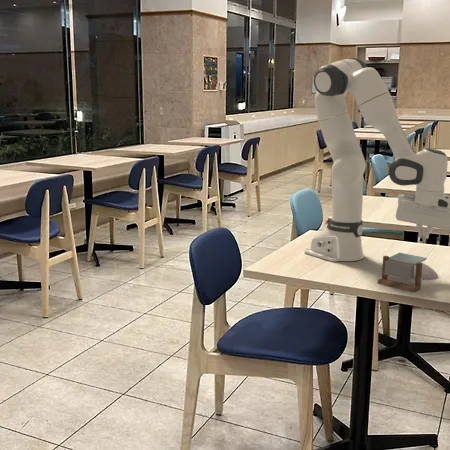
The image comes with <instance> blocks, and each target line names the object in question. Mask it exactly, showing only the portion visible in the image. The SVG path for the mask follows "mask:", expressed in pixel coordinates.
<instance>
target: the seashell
mask: <svg viewBox="0 0 450 450" xmlns="http://www.w3.org/2000/svg"><path fill="white" fill-rule="evenodd" d="M415 274H416V265H414V277H413V279H415ZM438 277H439V275H438V273H437V272H436V271H435V270H434V269H433V267H431V266H429V265H427V264H426V263H423V264H422V275H421V280H425V281H426V280H427V281H428V280H435V279H438Z"/></svg>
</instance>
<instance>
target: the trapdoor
mask: <svg viewBox="0 0 450 450" xmlns="http://www.w3.org/2000/svg"><path fill="white" fill-rule="evenodd" d="M426 260H427V257H423V256H418V255H414V254H408V253H403V252H397V253H396V254H393V255H391V256H389V258H388V260H387V261H385V273H384V275H388V276H390V277H394V278H398V279H403V280H407V281H411V280H412V279H414V265H416V263H418V262H419V263H423V262H424V261H426Z"/></svg>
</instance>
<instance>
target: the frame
mask: <svg viewBox="0 0 450 450" xmlns="http://www.w3.org/2000/svg"><path fill="white" fill-rule="evenodd" d="M389 257H390V256H388V255H384V256H383V257H382V270H381V278H379V279H377V284H379V285H383V286H386V285H387V287H390V288H395V287H396V288H395V289H400V290H404V291H408V292H412V293H416V292H417V291H419V290H421V285H422V279H421V275H422V264H424V263H423V262H421V263H419V262H418V263H416V274H415V278H414V284H410V283H405V282H401V281H396V280H392V279H388V276H389V275H384V273H385V261H387V260H388V258H389Z"/></svg>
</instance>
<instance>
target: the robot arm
mask: <svg viewBox="0 0 450 450" xmlns="http://www.w3.org/2000/svg"><path fill="white" fill-rule="evenodd" d="M313 86H314V89H315V90H316V93H315V95H314V105H315V112H316V117H317V120H318V123H319V127H320V129H321V130H320V131H321V134H322V137H323V140H324V144H325V145H326V147H327V150H328V151H329V153H330V154H329V155H330V156H331V159H332V162H333V164H332V165H331V166H332V167H331V195H332V196H331V197H332V198H331V200H332V201H331V216H330V217H331V218H328V219H327V220H325V221H324V225H327V226H326V228H324V229H323V230H320V231H319V232H318V233H317V234H315V235H314V236H313V237H312V239H311V241H310V246H308V247H306V248H304V254H306V255H310V256H313V257H316V258H320V259H323V260H326V261H329V262H333V263H335V262H355V261H356V262H357V261H360V260H362V259H364V258H365V256H364V255H365V254H364V251H363V246H362V234H363V227H364V226H363V223H364V221H363V219H362V216H363V202H364V199H363V196H364V195H363V193H364V190H363V184H364V183H363V182H364V174H365V172H366V167H367V165H366V164H367V163H366V160H365V157H364V154H363V151H362V148H361V145H360V142H359V140H358V137H357V135H356V131H355V130H354V129H355V128H354V126H353V122H352V119H351V116H350V112H349V110H348V106H347V102H346V96H347V94H350V95H352V97H353V99H354V100H355V103H356V105H357V108H358V110H359V112H360V114H361V115H362V118H363V119H364V120H365V122H366V123H367V124H368V125H369V126H370V127H372V128H374V129H376V130H377V131H379V132H380V133H381V134H382V135H383V136H384V138H385V139H386V142H387V143H388V145H389V147H390V150H391V152H392V153H393V156H394V158H395V160H393V161H392V162H391V163H390V165H389V167H388V177H389V179H390V180H391V182H393V183H394V184H395V185H398V186H402V187H403V186H406V187H407V186H414V185H415V186H416V188H415V194H414V195H413V194H407V193H403V194H400V195H399V196H398V199H397V208H396V213H395V218H396V220H397V221H400V222H405V223H409V224H415V225H416V226H415V227H416V229H417V232H418V238H420V239H424V240H428V239H429V236H430V234H431V233H432V231H433V230H434V229H435V228H436V229H440V230H444V231H450V195H447V194H446V193H445V181H446V179H447V174H448V173H447V172H448V156H447V154H446V153H445V152H444V151H441V150H439V149H436V148H431V147H426V148H423V149H422V150H420V151H418V152H416V151H415V150H414V149H413V148H412V146H411V144H410V142H409V139H408V138H407V135H406V133H405V131H404V129H403V127H402V125H401V122H400V119H399V117H398V113H397V110H396V106H395V103H394V101H393V97H392V95H391V93H390V91H389V89H388V87H387V85H386V83H385V81H384V80H383V78H382V77H381V75H380V73H379V72H378V71H377V70H376V68H374V67H370V66H369V67H368V66H367V64H366V63H365V62H364V61H363V60H362V59H359V58H357V57H350V58H347V59H346V58H345V59H339V60H336V61H334V62H331V63H327V64H325V65H322V66H321V67H319V68H318V69H317V70H316V71H315V73H314V77H313ZM424 226H425V227H426V230H427V231H426V232H425V231H423V229H422V228H423V227H424Z"/></svg>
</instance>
